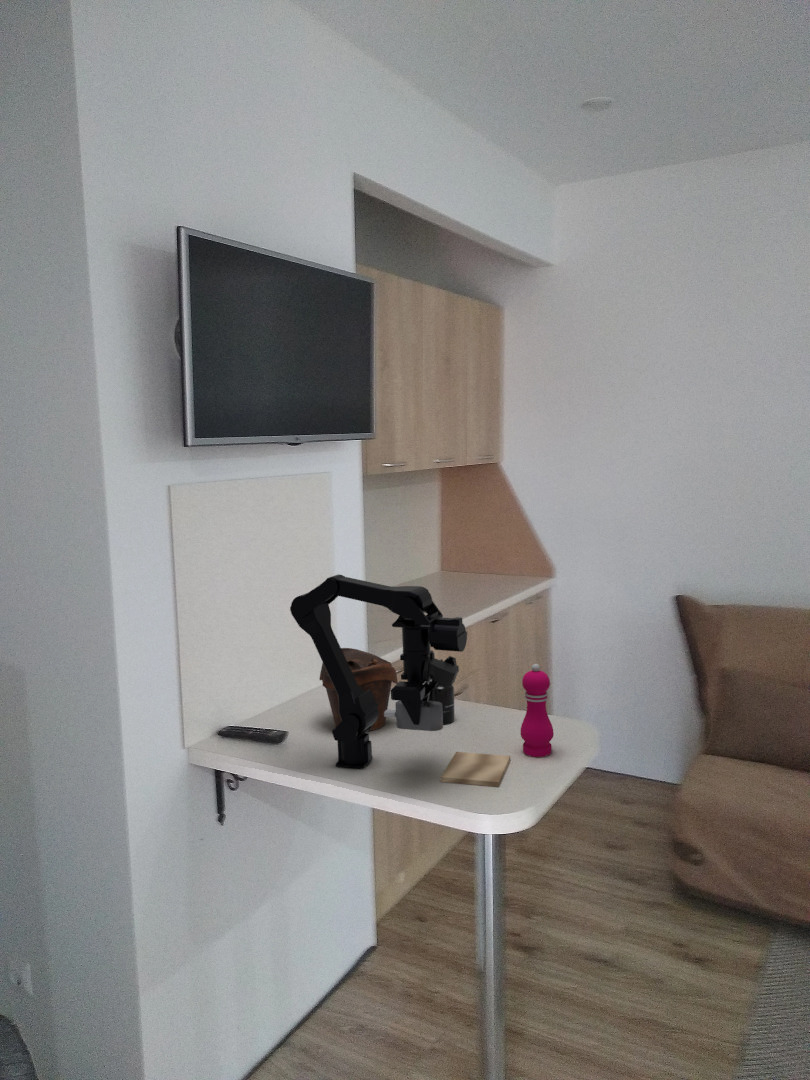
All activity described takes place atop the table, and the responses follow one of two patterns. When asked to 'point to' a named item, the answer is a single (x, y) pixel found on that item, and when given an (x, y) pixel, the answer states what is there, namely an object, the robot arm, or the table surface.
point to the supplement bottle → (444, 700)
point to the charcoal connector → (428, 718)
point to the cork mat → (476, 769)
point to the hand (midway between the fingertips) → (419, 721)
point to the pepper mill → (536, 714)
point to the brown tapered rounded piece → (364, 681)
